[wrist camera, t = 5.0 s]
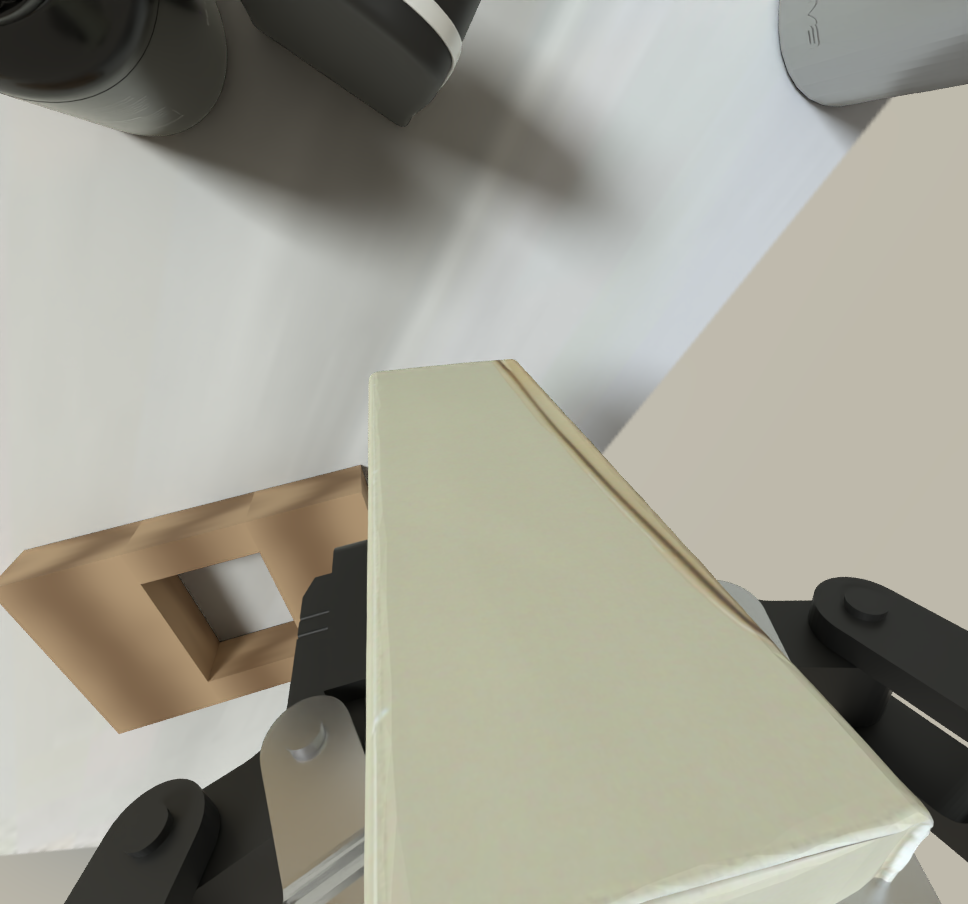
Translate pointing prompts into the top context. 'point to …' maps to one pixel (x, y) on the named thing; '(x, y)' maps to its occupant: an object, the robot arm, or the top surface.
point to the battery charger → (373, 45)
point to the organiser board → (179, 597)
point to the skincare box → (581, 684)
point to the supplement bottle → (115, 60)
